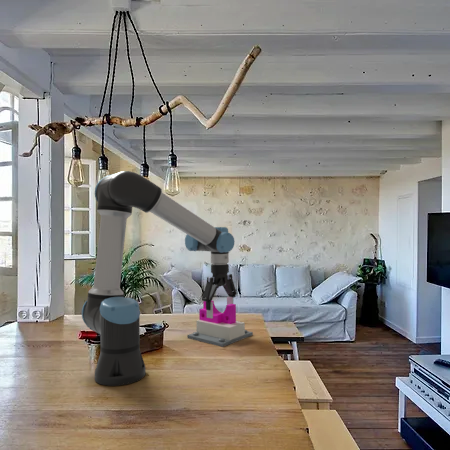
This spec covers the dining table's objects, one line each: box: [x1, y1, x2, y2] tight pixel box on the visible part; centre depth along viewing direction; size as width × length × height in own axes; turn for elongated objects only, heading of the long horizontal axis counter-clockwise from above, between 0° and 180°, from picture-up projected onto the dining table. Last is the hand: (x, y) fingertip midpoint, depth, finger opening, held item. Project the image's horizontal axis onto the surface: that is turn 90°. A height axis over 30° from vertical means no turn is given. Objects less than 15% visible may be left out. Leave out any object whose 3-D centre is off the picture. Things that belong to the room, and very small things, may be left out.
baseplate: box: [186, 319, 254, 348], centre depth 156 cm, size 20×19×6 cm
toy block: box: [198, 300, 237, 324], centre depth 157 cm, size 15×6×8 cm, turn 50°
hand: (220, 314), depth 156 cm, fingers open, 12 cm apart
